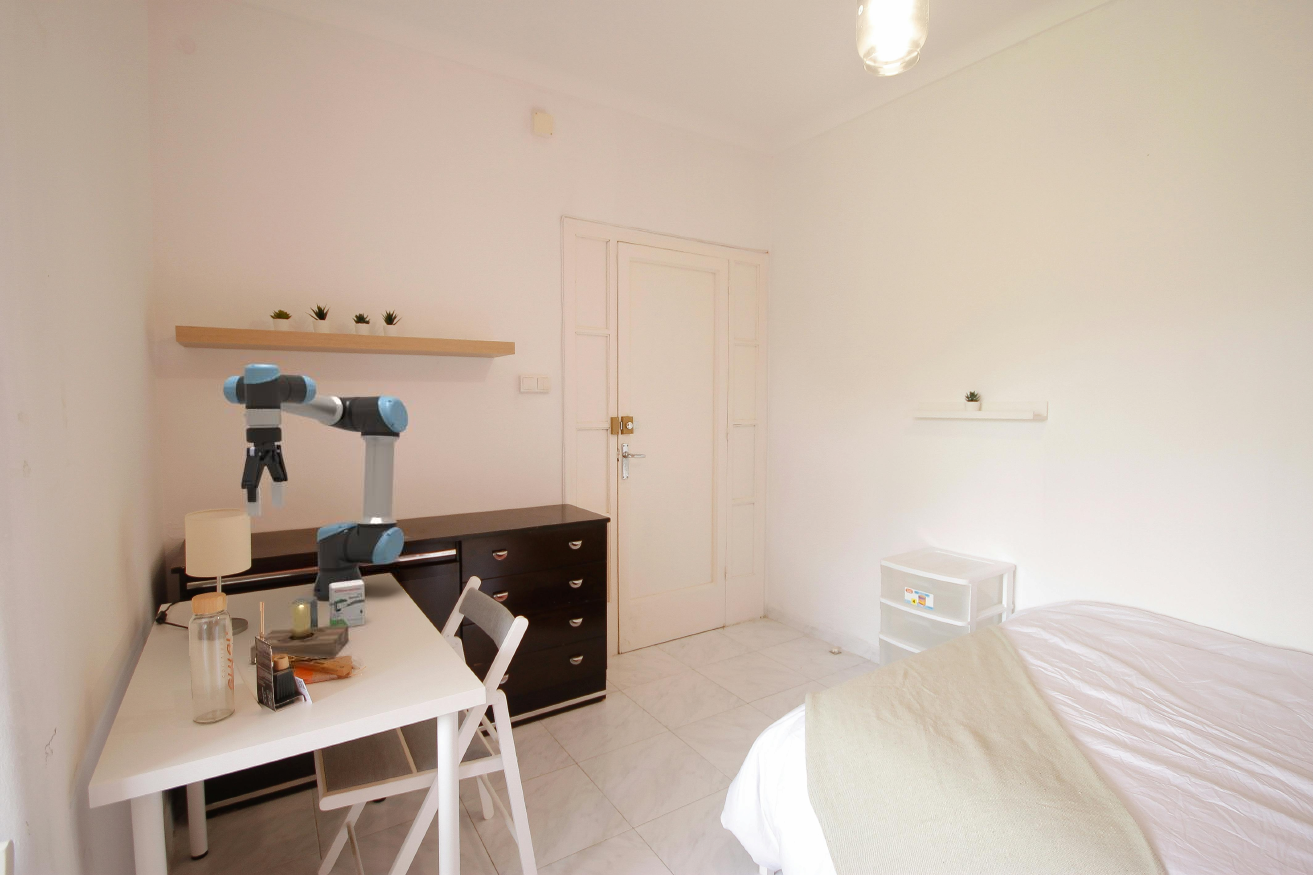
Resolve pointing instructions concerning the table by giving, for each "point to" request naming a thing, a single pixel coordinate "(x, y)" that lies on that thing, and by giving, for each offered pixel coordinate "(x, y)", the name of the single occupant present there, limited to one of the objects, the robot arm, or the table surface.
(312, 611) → the square bit
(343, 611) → the ink box
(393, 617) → the table surface
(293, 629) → the cylinder
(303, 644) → the bore block
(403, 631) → the table surface
